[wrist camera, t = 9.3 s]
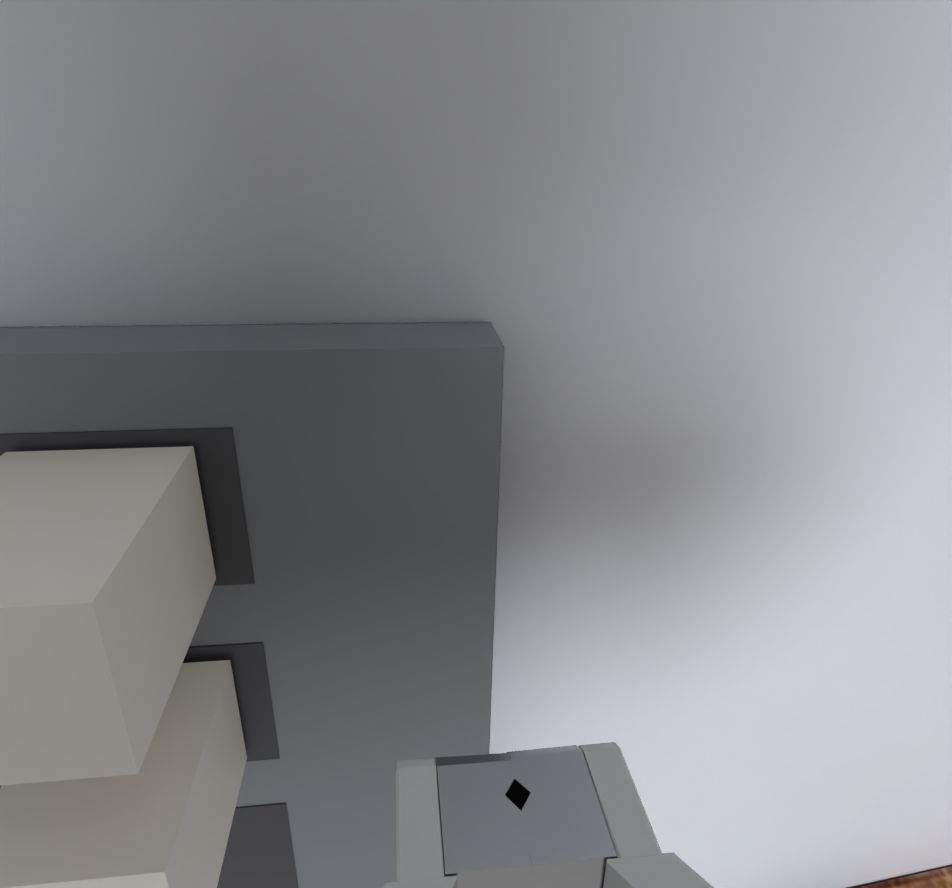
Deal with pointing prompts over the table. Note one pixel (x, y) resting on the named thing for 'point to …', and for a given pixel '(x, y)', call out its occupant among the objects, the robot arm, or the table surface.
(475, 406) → the switch panel
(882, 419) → the table surface
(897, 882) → the book
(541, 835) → the robot arm
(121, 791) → the tab middle
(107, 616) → the tab inner
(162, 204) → the table surface
